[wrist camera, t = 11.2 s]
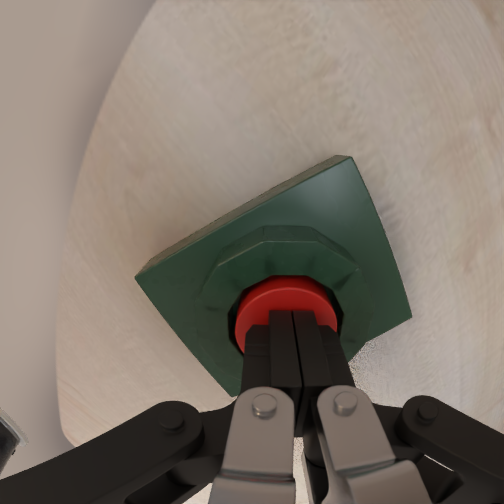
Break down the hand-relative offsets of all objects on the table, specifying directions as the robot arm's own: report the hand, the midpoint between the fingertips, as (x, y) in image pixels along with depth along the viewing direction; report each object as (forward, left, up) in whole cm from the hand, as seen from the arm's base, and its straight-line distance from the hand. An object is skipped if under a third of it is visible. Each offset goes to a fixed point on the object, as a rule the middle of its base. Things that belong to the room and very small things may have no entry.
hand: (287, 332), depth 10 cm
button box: (0, 0, -4) cm, 4 cm away
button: (0, 0, -2) cm, 2 cm away
